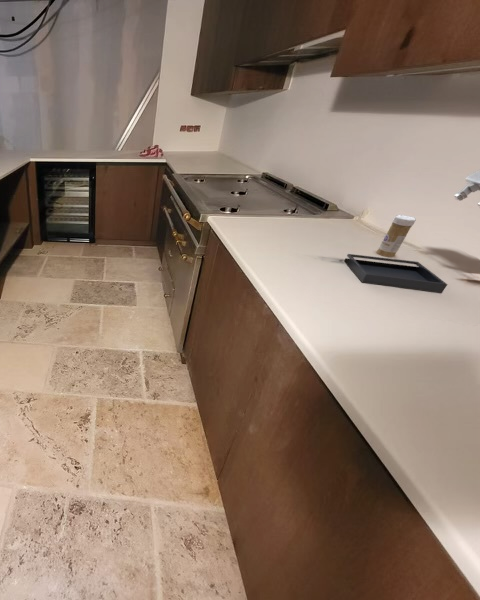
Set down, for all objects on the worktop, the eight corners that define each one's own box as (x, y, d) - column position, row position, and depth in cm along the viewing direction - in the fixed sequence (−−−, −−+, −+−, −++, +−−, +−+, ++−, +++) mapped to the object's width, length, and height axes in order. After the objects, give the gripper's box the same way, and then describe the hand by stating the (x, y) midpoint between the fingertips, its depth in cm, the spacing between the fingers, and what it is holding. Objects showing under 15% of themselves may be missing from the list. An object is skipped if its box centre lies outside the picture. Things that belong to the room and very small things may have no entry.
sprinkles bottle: (369, 256, 101) (391, 214, 94) (383, 256, 101) (406, 214, 94) (381, 263, 97) (405, 219, 90) (395, 263, 97) (421, 219, 90)
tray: (413, 269, 93) (418, 261, 92) (441, 293, 82) (447, 284, 80) (344, 261, 98) (347, 253, 97) (362, 282, 86) (366, 274, 85)
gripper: (504, 150, 86) (438, 185, 94) (578, 161, 70) (490, 202, 77) (514, 168, 88) (448, 201, 95) (589, 183, 71) (501, 222, 78)
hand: (467, 202), depth 86 cm, fingers open, 8 cm apart
